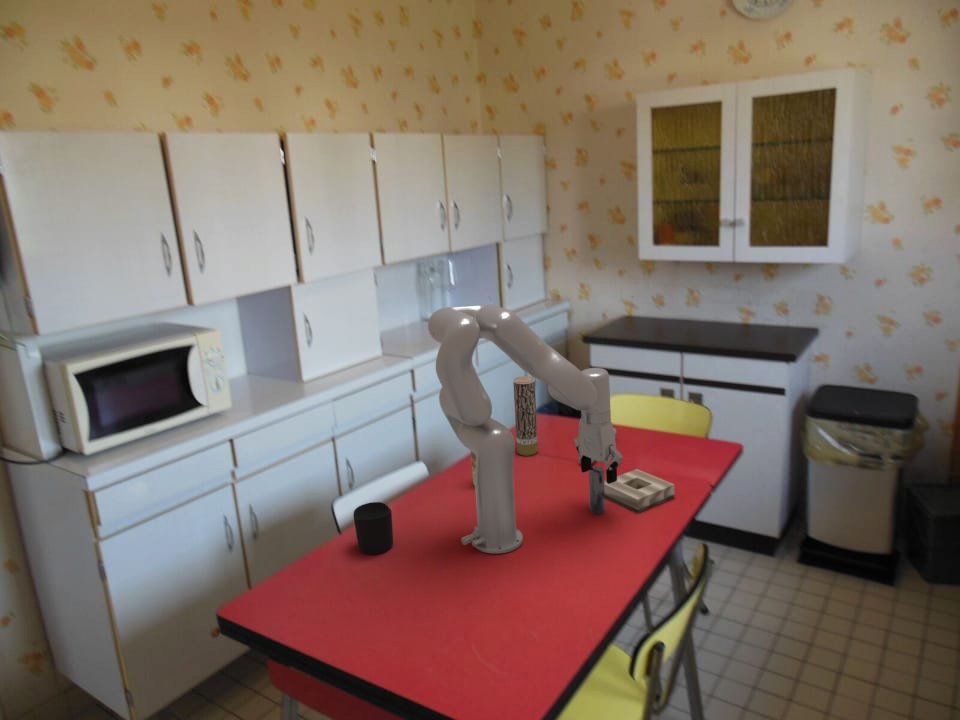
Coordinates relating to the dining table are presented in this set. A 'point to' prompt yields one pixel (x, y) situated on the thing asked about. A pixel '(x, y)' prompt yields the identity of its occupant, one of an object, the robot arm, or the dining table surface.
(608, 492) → the socket block
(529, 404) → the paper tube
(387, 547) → the pen holder
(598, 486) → the steel peg
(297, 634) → the dining table surface
